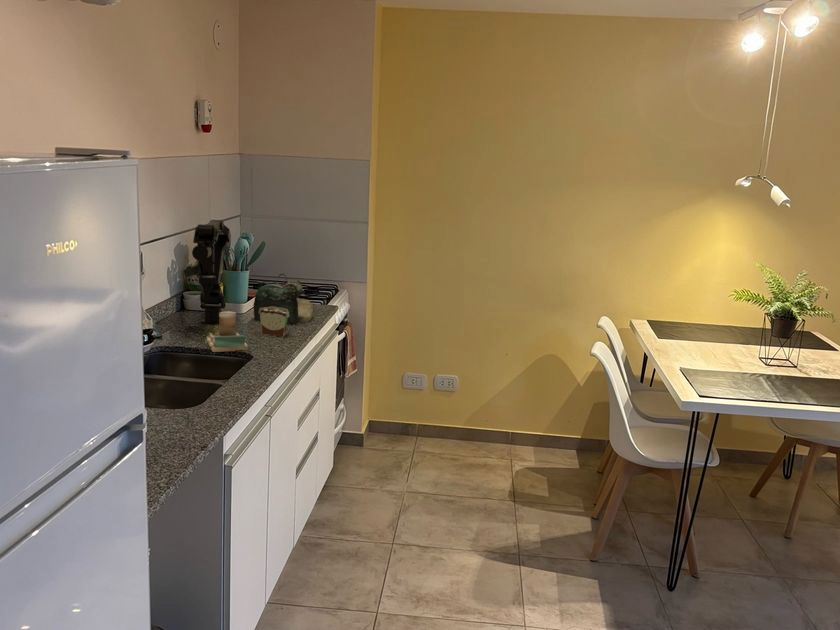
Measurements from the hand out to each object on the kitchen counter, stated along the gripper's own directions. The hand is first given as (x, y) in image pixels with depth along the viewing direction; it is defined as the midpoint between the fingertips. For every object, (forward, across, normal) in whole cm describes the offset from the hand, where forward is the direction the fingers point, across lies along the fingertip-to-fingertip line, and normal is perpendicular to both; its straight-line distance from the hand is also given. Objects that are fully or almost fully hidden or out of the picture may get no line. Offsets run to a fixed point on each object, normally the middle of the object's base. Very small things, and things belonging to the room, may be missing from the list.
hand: (205, 299), depth 292 cm
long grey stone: (+11, -27, +42) cm, 50 cm away
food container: (+12, +9, +26) cm, 30 cm away
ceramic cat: (+11, -11, +28) cm, 32 cm away
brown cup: (+11, +25, +6) cm, 28 cm away
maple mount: (+13, +23, +6) cm, 27 cm away
